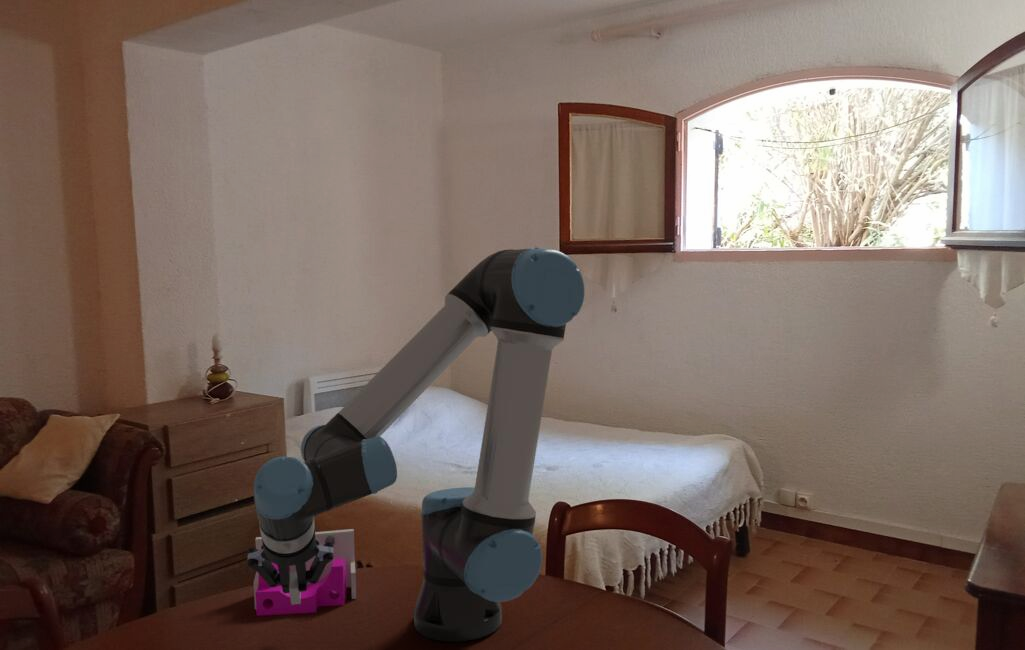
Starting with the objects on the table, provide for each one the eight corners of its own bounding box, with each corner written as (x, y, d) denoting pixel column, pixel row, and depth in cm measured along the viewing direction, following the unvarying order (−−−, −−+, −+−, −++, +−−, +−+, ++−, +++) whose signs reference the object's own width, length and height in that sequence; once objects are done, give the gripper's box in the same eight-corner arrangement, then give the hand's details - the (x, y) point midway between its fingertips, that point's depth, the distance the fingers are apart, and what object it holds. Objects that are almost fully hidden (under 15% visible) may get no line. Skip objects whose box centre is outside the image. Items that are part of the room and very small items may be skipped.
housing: (356, 598, 145) (354, 541, 144) (254, 609, 141) (252, 550, 141) (355, 584, 152) (353, 528, 151) (258, 594, 148) (256, 537, 147)
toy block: (256, 616, 139) (254, 575, 138) (264, 601, 145) (262, 562, 145) (342, 612, 140) (341, 571, 140) (346, 597, 147) (345, 558, 146)
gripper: (239, 559, 110) (254, 622, 128) (334, 552, 113) (336, 614, 131) (243, 511, 115) (256, 578, 132) (333, 505, 118) (335, 571, 135)
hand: (296, 596), depth 131 cm, fingers closed
